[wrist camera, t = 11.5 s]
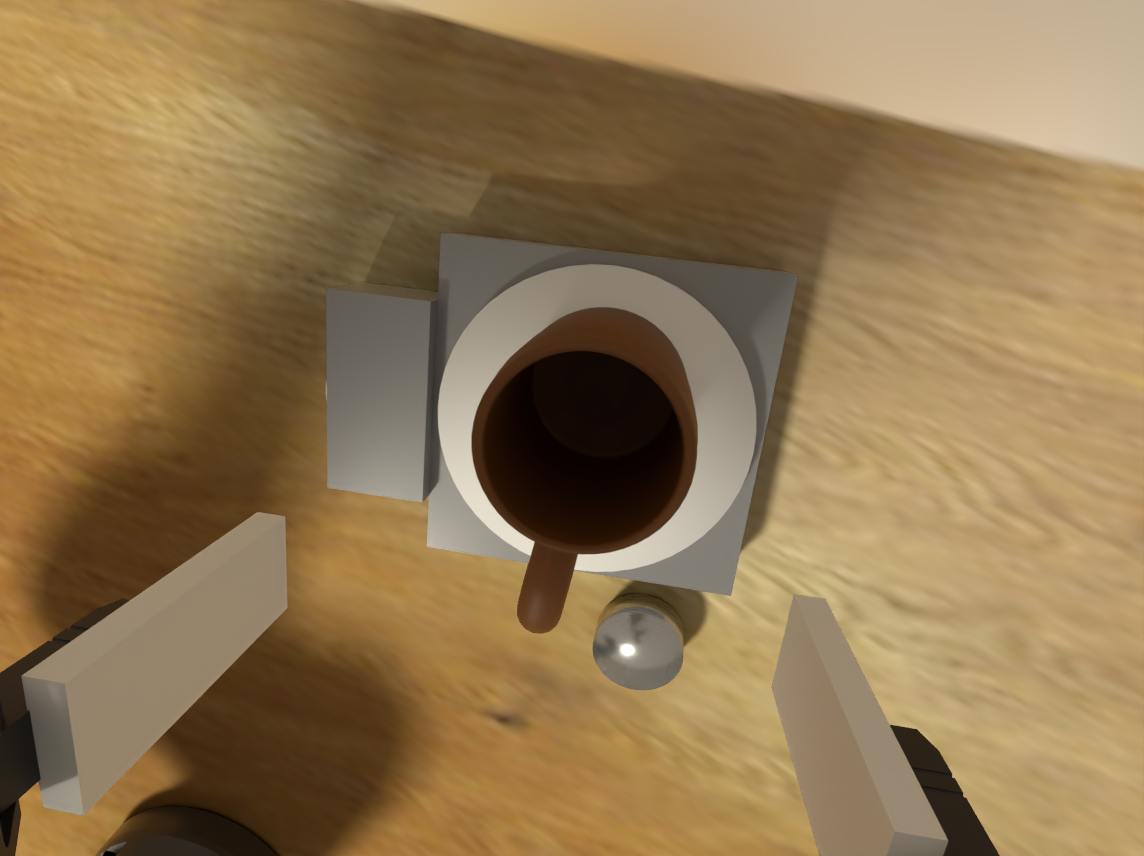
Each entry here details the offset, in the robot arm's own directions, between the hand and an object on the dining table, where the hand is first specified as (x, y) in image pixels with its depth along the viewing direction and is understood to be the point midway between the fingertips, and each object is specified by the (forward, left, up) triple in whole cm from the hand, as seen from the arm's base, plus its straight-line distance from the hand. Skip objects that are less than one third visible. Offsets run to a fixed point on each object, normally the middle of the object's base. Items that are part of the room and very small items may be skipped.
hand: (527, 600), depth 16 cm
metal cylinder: (+4, -13, -18) cm, 23 cm away
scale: (-2, 0, -18) cm, 18 cm away
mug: (0, 0, -15) cm, 15 cm away
